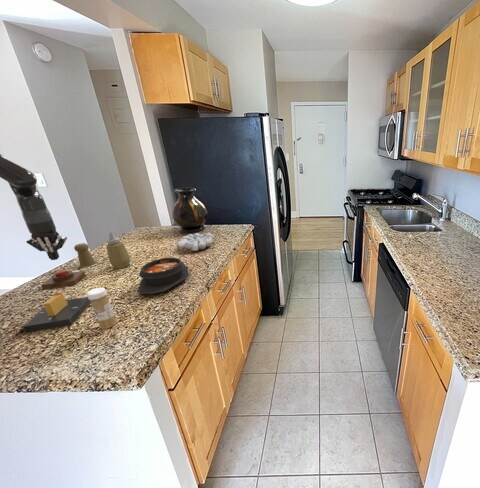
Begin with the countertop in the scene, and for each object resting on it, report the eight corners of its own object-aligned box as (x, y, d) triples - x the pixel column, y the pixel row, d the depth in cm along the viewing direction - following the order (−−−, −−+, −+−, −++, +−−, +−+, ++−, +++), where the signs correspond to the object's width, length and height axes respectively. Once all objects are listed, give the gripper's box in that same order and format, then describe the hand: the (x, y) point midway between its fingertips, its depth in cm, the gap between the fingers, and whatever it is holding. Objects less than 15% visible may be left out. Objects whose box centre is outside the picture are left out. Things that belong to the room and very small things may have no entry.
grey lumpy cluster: (172, 245, 153) (170, 235, 151) (208, 236, 166) (207, 228, 164) (182, 256, 138) (180, 246, 136) (221, 246, 151) (220, 237, 149)
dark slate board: (25, 332, 84) (22, 326, 83) (52, 308, 96) (49, 302, 95) (71, 325, 87) (68, 318, 86) (91, 302, 100) (88, 296, 99)
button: (54, 277, 110) (53, 273, 110) (59, 273, 113) (58, 270, 113) (65, 276, 111) (63, 272, 111) (69, 272, 115) (68, 268, 114)
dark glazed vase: (207, 233, 173) (199, 191, 162) (172, 236, 168) (161, 193, 157) (211, 223, 192) (205, 185, 182) (179, 226, 187) (171, 187, 176)
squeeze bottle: (107, 269, 125) (95, 234, 118) (123, 262, 132) (112, 228, 126) (120, 271, 123) (109, 235, 117) (136, 263, 131) (125, 229, 124)
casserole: (159, 269, 125) (154, 253, 122) (198, 268, 126) (195, 252, 123) (125, 298, 102) (119, 280, 99) (174, 297, 103) (169, 278, 100)
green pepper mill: (94, 265, 129) (86, 245, 125) (78, 268, 126) (70, 247, 122) (97, 260, 134) (89, 241, 130) (81, 263, 131) (73, 243, 127)
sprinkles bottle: (96, 329, 85) (82, 294, 80) (107, 320, 90) (94, 286, 84) (110, 329, 85) (96, 294, 80) (120, 320, 90) (108, 287, 84)
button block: (43, 289, 108) (39, 281, 107) (55, 279, 116) (52, 271, 115) (75, 285, 111) (72, 277, 110) (85, 275, 119) (82, 267, 118)
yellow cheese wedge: (55, 315, 88) (48, 302, 86) (48, 316, 88) (42, 303, 86) (67, 304, 94) (62, 292, 92) (61, 305, 94) (56, 292, 92)
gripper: (10, 223, 99) (29, 264, 105) (52, 221, 102) (68, 261, 108) (25, 218, 105) (42, 257, 112) (64, 216, 108) (79, 254, 115)
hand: (55, 259), depth 110 cm, fingers closed
